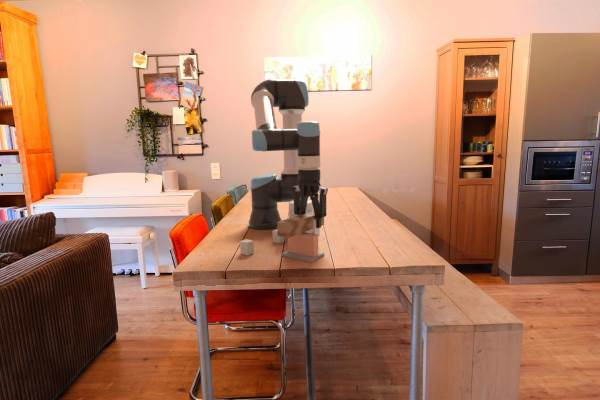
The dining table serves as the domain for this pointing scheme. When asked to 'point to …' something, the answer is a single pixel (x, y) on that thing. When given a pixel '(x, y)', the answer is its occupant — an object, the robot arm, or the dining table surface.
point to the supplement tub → (308, 209)
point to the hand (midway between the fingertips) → (310, 235)
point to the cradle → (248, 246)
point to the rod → (296, 225)
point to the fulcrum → (303, 247)
